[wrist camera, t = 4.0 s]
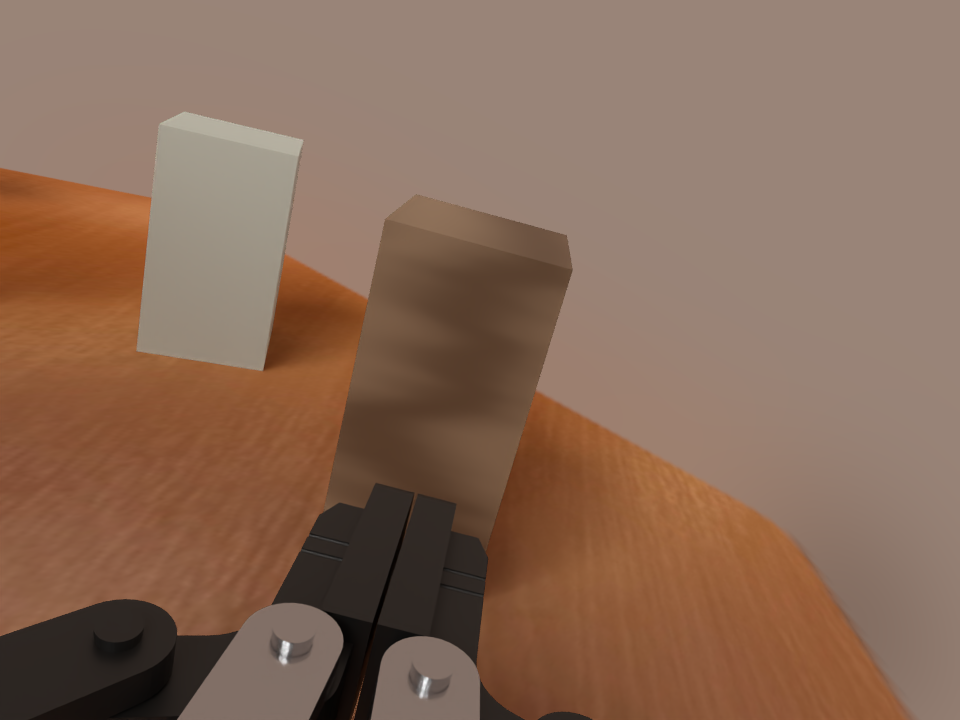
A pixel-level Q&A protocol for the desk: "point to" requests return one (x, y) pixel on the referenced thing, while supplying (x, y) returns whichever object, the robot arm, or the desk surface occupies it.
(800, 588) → the desk surface
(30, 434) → the desk surface
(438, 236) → the walnut wood block
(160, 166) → the grey block
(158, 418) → the desk surface
